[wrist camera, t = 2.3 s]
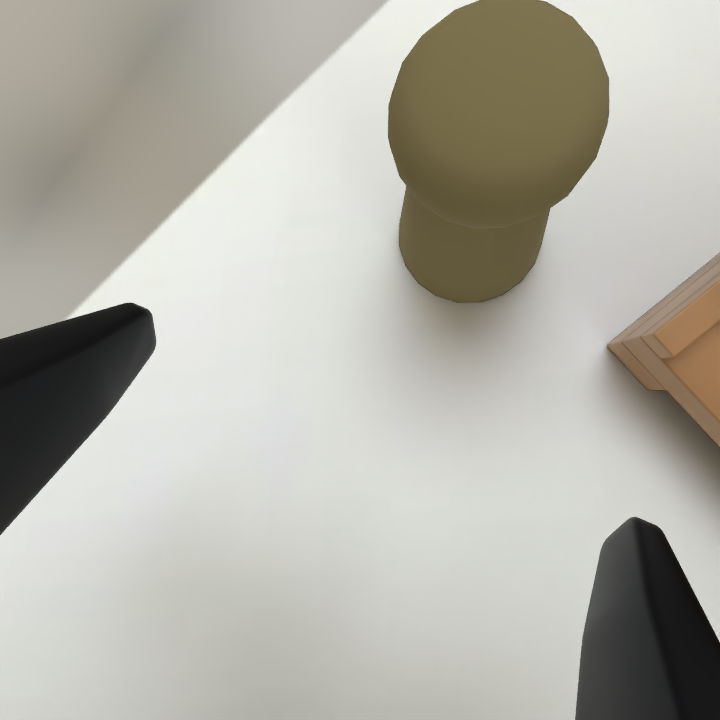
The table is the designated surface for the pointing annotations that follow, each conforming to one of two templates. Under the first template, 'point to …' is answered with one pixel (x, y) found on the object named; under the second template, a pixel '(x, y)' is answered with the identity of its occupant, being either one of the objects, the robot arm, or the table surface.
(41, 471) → the robot arm
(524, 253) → the olive pawn
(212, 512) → the table surface
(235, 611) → the table surface
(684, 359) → the shelf
